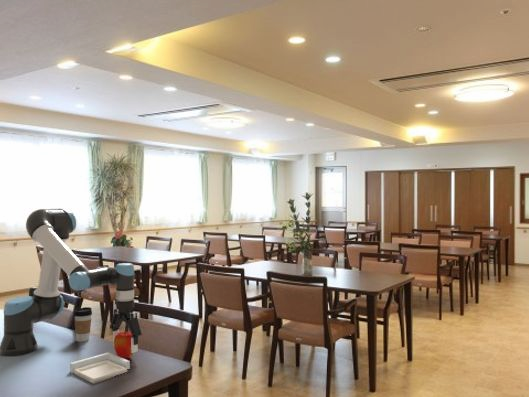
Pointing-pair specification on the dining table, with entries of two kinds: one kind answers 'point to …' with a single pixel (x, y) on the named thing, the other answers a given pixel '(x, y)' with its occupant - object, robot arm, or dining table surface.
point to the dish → (100, 371)
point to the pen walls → (98, 359)
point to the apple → (123, 344)
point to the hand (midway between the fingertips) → (125, 348)
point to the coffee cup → (83, 323)
